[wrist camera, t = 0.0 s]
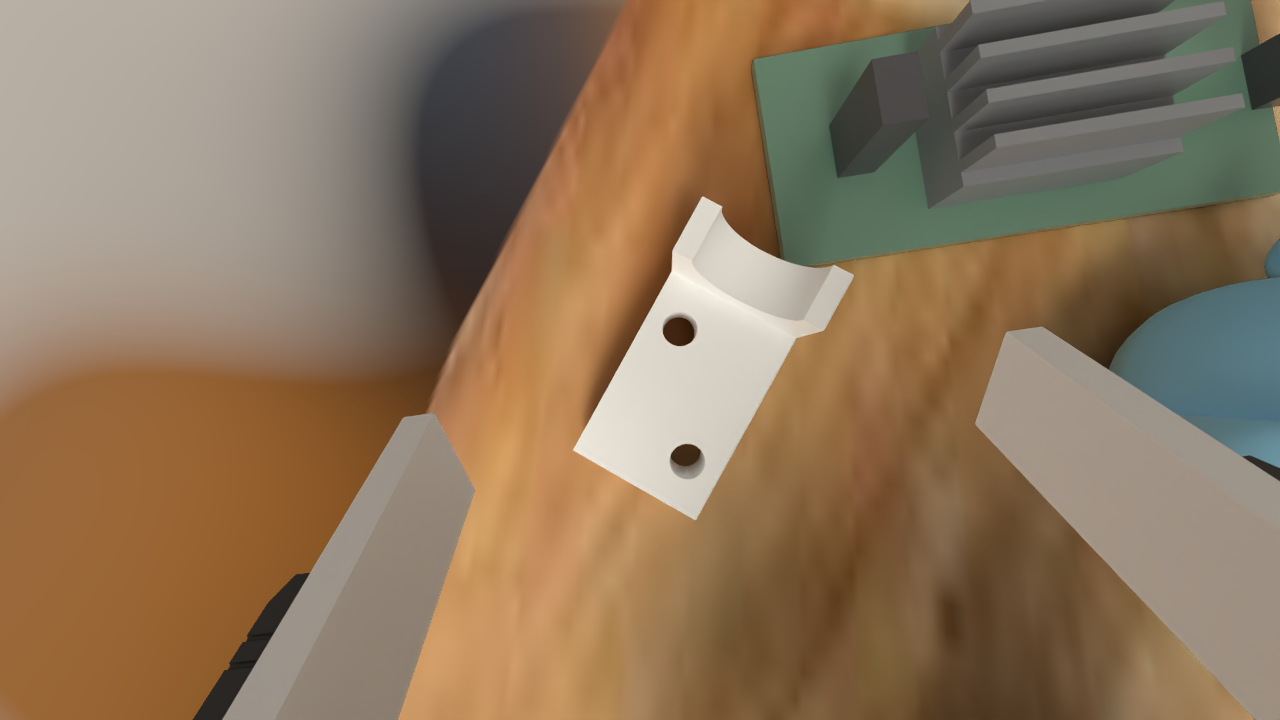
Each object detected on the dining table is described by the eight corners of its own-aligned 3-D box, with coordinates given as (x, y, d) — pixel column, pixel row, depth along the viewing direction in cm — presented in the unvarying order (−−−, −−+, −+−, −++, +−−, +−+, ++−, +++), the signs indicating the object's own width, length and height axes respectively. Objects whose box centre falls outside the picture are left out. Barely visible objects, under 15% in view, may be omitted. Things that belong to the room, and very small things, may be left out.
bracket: (692, 246, 27) (702, 196, 19) (801, 303, 26) (854, 275, 19) (585, 440, 27) (553, 466, 19) (691, 500, 26) (701, 551, 19)
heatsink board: (1289, 193, 25) (1496, 132, 18) (782, 271, 26) (817, 239, 20) (1245, -21, 25) (1433, -150, 19) (751, 68, 27) (775, -24, 21)
